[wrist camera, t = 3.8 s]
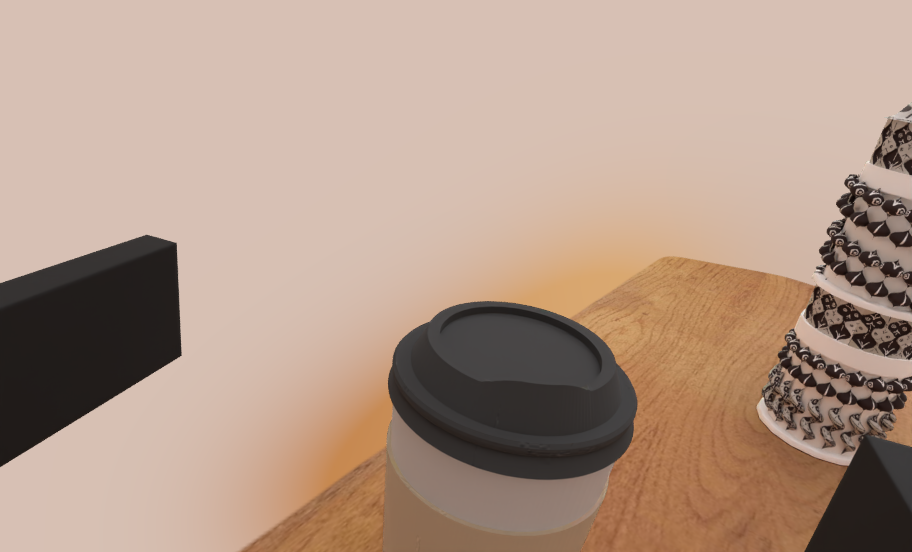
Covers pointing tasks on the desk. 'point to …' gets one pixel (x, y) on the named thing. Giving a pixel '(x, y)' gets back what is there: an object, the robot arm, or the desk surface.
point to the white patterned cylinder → (853, 316)
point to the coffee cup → (501, 431)
